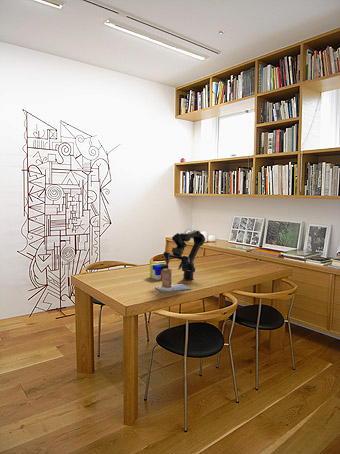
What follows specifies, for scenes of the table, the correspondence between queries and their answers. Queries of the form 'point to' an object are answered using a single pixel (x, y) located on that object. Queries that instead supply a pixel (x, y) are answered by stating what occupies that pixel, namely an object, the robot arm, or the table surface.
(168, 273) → the pillar
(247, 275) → the table surface
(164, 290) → the blueprint board
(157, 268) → the puzzle toy
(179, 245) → the robot arm
